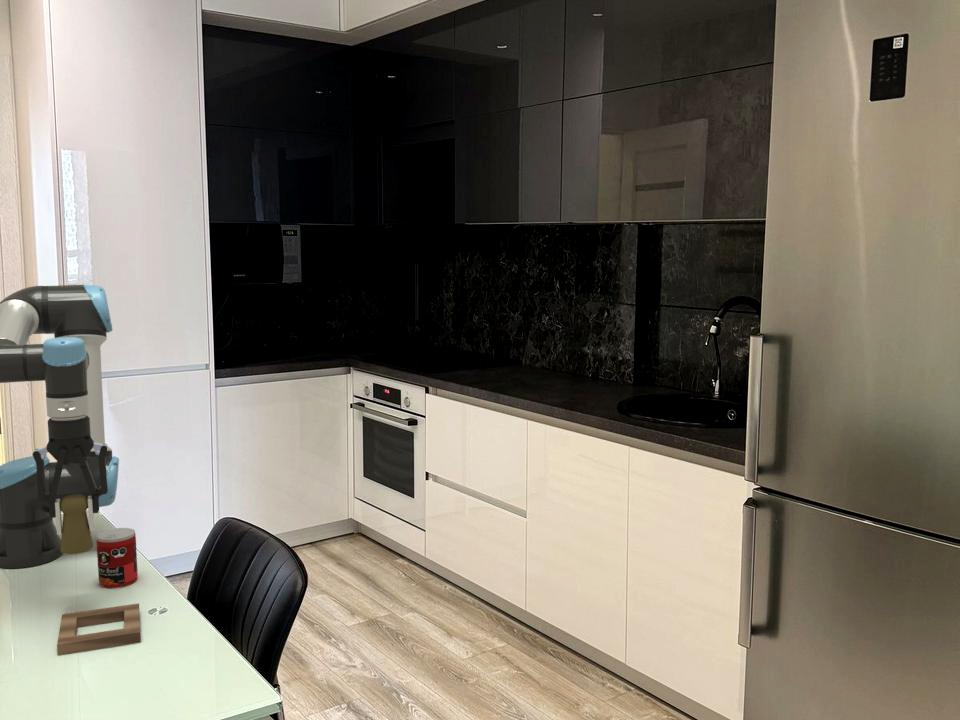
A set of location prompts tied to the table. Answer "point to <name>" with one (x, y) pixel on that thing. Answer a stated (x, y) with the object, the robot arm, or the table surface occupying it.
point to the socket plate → (79, 643)
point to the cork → (75, 525)
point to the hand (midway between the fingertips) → (75, 530)
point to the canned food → (117, 557)
